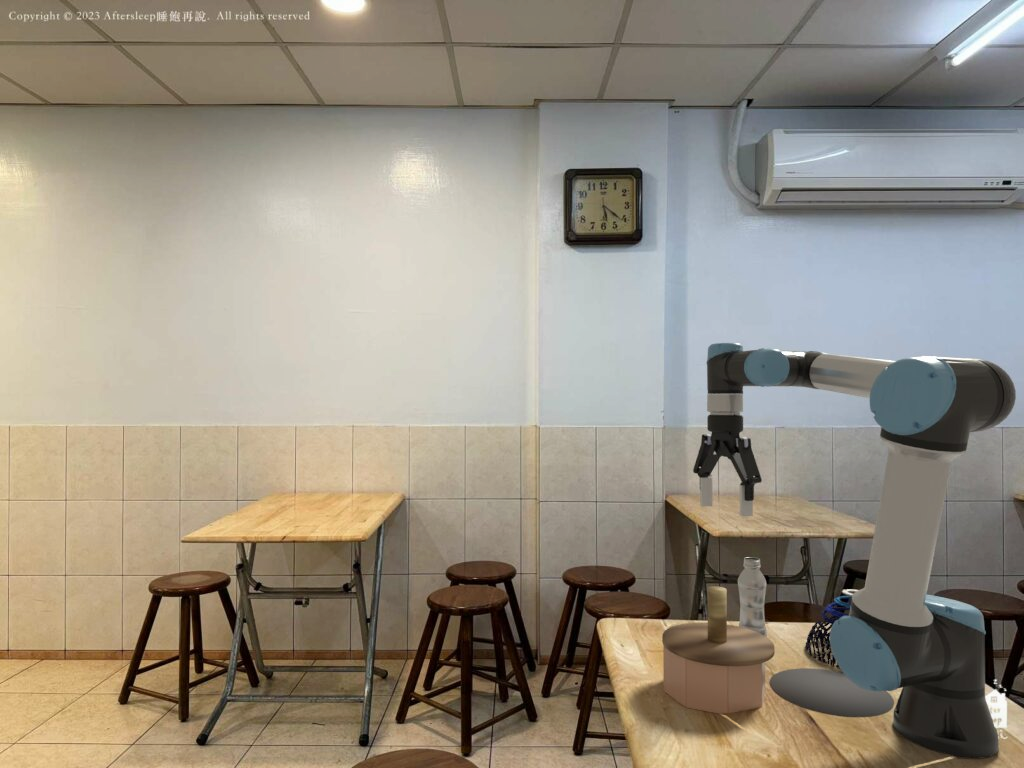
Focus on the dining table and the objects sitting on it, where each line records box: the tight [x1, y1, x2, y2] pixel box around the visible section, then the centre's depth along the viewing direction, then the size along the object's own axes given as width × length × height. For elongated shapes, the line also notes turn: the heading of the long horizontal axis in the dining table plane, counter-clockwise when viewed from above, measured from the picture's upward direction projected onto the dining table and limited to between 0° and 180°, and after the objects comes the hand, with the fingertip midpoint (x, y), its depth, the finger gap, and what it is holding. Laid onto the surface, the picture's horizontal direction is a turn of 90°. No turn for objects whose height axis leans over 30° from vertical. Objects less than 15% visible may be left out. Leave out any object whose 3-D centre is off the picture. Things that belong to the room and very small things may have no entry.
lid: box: [661, 585, 775, 666], centre depth 134 cm, size 21×21×11 cm
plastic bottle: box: [737, 556, 768, 638], centre depth 159 cm, size 6×7×20 cm
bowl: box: [662, 644, 766, 716], centre depth 134 cm, size 18×18×9 cm
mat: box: [769, 667, 895, 718], centre depth 134 cm, size 22×22×1 cm
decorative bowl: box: [804, 588, 860, 669], centre depth 153 cm, size 20×20×14 cm
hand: (725, 511), depth 150 cm, fingers open, 13 cm apart
